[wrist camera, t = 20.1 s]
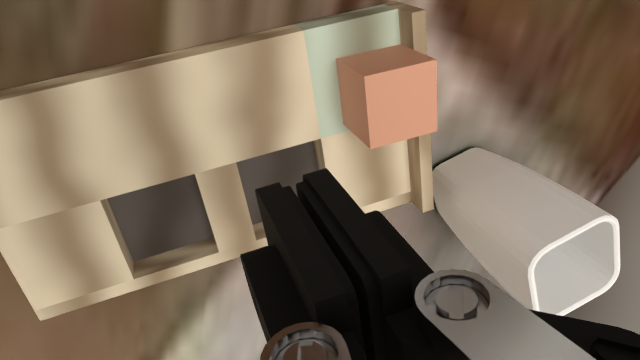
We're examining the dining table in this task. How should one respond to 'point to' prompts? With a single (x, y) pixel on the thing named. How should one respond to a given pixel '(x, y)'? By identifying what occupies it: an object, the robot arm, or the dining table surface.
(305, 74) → the board
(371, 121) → the block
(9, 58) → the dining table surface
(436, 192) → the cup
